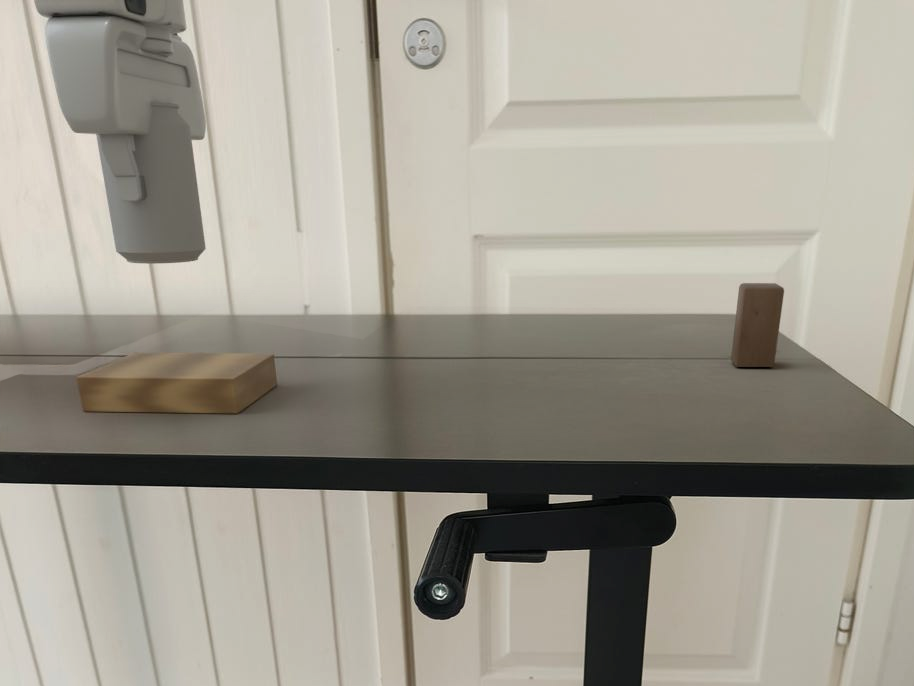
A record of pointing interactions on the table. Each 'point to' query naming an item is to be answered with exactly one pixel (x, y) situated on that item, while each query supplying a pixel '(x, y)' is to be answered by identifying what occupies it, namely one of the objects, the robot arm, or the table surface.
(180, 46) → the robot arm
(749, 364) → the wooden block
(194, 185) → the can
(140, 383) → the stand
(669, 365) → the table surface
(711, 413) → the table surface
